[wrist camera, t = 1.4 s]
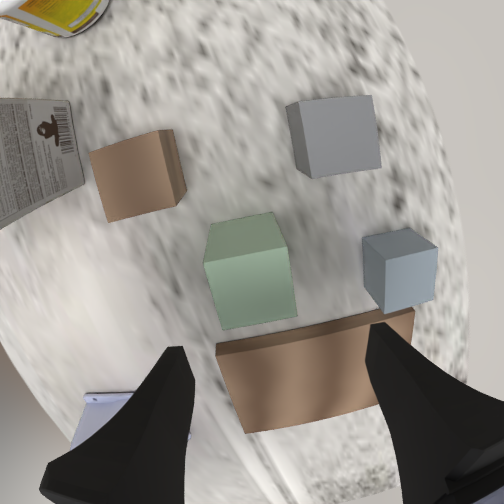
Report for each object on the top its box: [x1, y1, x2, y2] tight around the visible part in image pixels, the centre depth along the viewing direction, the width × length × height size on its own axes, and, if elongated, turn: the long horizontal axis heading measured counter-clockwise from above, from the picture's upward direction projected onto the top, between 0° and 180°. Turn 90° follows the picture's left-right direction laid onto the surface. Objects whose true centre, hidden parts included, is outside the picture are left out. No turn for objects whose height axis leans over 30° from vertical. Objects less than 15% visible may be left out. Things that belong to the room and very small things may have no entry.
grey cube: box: [286, 95, 382, 179], centre depth 16 cm, size 4×4×4 cm
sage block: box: [203, 212, 297, 330], centre depth 18 cm, size 4×4×6 cm
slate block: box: [362, 228, 438, 314], centre depth 20 cm, size 4×4×4 cm
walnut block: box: [89, 130, 187, 223], centre depth 17 cm, size 4×4×4 cm
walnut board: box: [215, 306, 415, 434], centre depth 25 cm, size 16×11×2 cm
